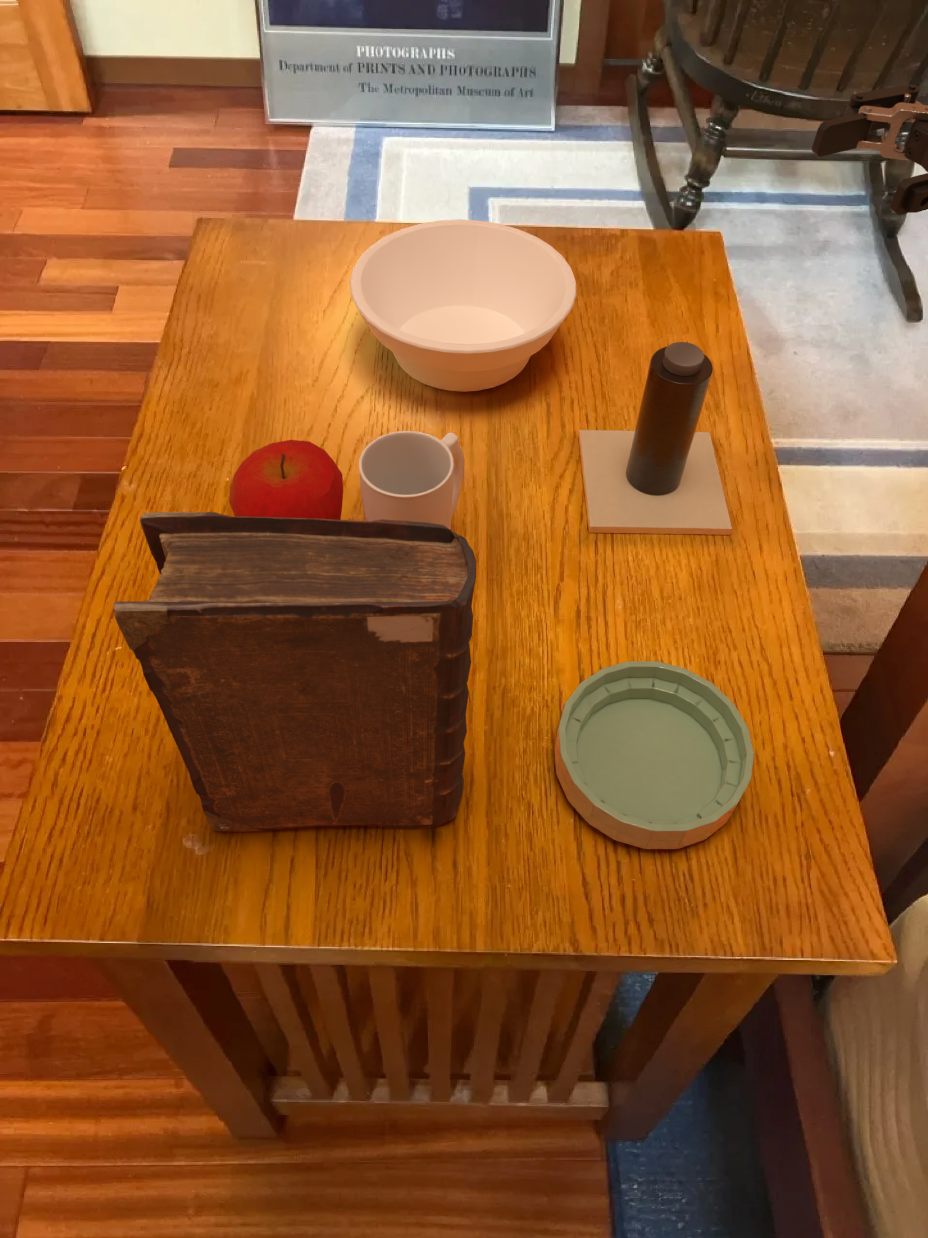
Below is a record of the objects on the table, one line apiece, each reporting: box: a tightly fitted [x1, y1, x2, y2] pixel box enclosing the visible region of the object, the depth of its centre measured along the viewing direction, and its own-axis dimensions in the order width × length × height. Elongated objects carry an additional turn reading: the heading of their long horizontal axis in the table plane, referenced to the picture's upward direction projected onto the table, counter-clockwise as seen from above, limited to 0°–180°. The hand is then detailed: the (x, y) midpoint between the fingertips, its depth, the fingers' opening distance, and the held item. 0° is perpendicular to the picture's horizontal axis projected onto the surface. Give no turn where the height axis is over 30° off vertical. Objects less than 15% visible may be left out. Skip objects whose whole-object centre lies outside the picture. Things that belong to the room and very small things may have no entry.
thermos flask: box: [626, 341, 714, 495], centre depth 76 cm, size 5×5×13 cm
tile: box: [577, 429, 733, 536], centre depth 82 cm, size 12×12×1 cm
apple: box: [228, 439, 344, 520], centre depth 71 cm, size 9×8×12 cm
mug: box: [358, 430, 465, 531], centre depth 71 cm, size 10×7×12 cm, turn 142°
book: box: [113, 511, 477, 833], centre depth 53 cm, size 17×7×25 cm, turn 85°
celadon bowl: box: [553, 660, 755, 850], centre depth 64 cm, size 13×13×4 cm
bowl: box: [349, 218, 577, 392], centre depth 89 cm, size 21×21×8 cm
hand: (856, 168), depth 64 cm, fingers open, 8 cm apart
